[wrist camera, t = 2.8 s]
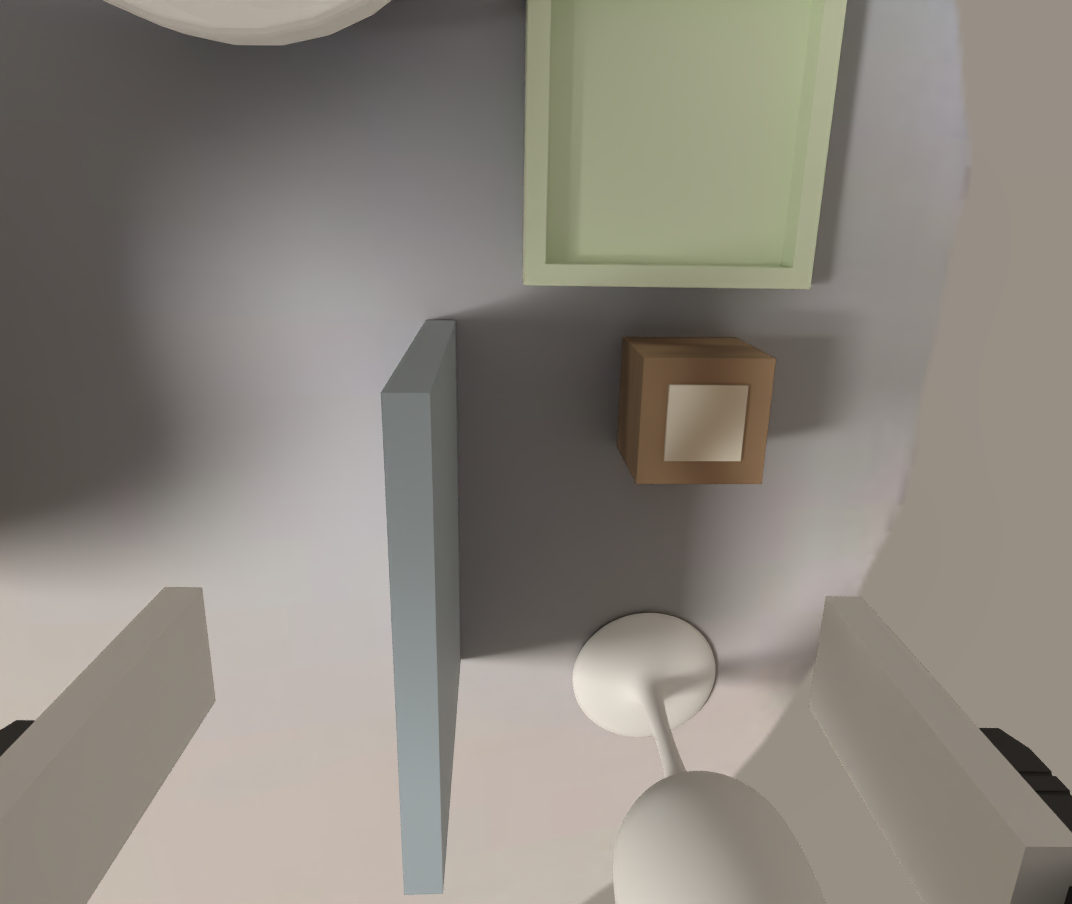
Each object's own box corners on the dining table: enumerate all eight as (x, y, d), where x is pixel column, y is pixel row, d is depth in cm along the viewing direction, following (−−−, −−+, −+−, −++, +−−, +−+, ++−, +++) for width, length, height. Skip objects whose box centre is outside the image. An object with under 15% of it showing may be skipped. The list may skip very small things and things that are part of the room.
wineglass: (578, 742, 47) (641, 1139, 27) (566, 620, 44) (625, 960, 24) (716, 725, 47) (881, 1108, 27) (712, 603, 44) (892, 927, 24)
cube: (616, 446, 41) (637, 485, 35) (622, 336, 39) (644, 358, 33) (724, 446, 41) (763, 485, 35) (735, 337, 39) (777, 359, 34)
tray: (522, 281, 38) (524, 285, 36) (526, -38, 34) (528, -54, 32) (793, 285, 39) (810, 289, 37) (831, -27, 34) (852, -41, 32)
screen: (460, 659, 44) (442, 893, 29) (435, 660, 44) (404, 894, 29) (455, 320, 38) (430, 392, 23) (426, 319, 38) (380, 392, 23)
